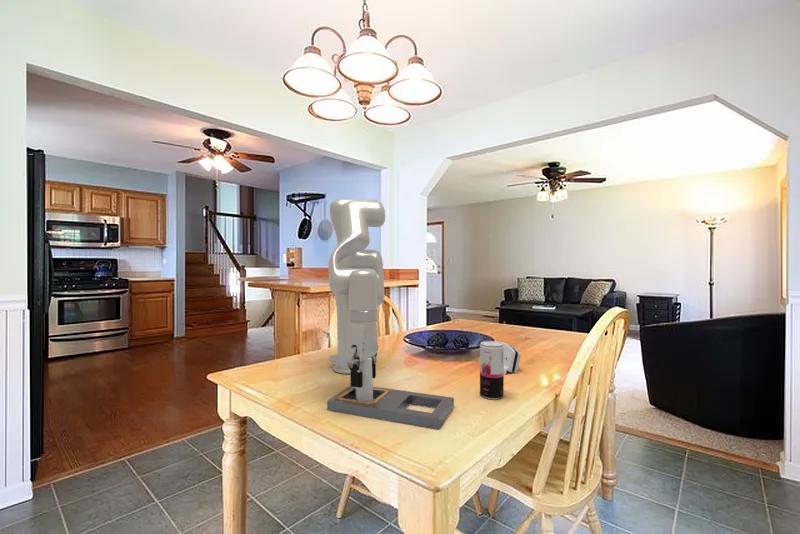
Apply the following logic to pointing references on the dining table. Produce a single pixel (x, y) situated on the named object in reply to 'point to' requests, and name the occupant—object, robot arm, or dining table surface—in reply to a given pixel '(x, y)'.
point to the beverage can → (491, 369)
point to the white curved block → (510, 358)
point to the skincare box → (365, 382)
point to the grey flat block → (394, 406)
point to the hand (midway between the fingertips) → (363, 381)
